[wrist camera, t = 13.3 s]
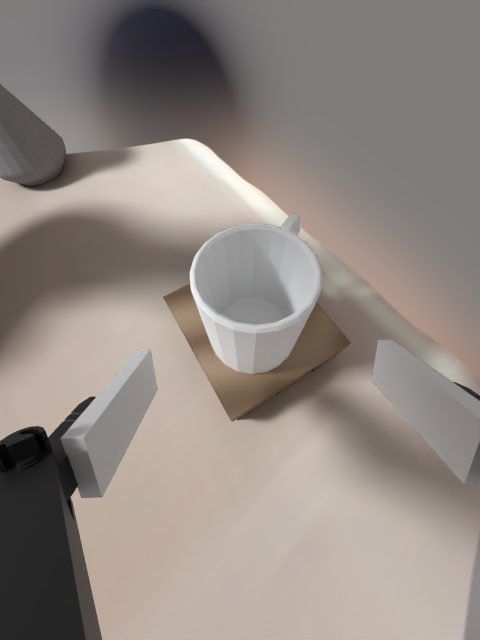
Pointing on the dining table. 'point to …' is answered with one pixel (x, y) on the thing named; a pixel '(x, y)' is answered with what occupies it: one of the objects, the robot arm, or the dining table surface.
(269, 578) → the dining table surface
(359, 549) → the dining table surface
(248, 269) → the mug
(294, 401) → the dining table surface
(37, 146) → the coffee pot
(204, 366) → the dock
